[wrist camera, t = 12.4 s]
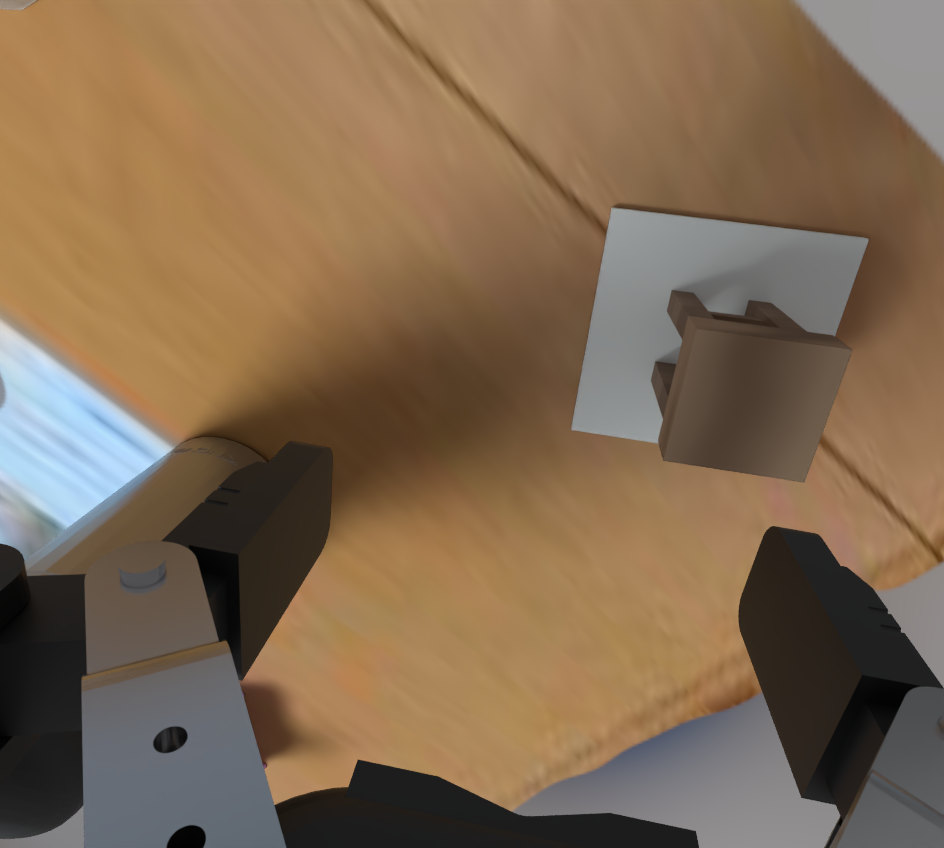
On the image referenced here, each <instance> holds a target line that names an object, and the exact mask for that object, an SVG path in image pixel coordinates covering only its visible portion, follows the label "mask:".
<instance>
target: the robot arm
mask: <svg viewBox="0 0 944 848" xmlns="http://www.w3.org/2000/svg"><path fill="white" fill-rule="evenodd" d="M332 467H333V456H332V451H331V449H330V448H329V447H324V446H318V445H312V444H306V443H301V442H295V441H290V442H288V443H287V444H286V445H285V446H284V447H283V448H282V449H281V450H280V451H279V452H278V453H277V454H276V455H275V456H274V457H273V458H272V459H271V460H270V461H269V462H267V461H266V460H265V459H263V458H262V457H261V456H260V455H258V454H257V453H255V452H254V451H253V450H251V449H250V448H248V447H246V446H244V445H241V444H239V443H237V442H235V441H231V440H227V439H224V438H218V437H201V438H194V439H191V440H189V441H186V442H184V443H181V444H180V445H179V446H177V447H176V448H174V449H173V450H172V451H170V452H169V453H168V454H166V455H165V456H164V457H162V458H161V459H160V460H158V461H157V462H156V463H154V464H153V465H152V466H150V467H149V468H147V469H146V470H145V471H143V472H142V473H141V474H139V475H138V476H136V477H135V478H134V479H132V480H131V481H130V482H128V483H127V484H126V485H124V486H123V487H122V488H120V489H119V490H118V491H116V492H115V493H114V494H112V495H111V496H110V497H108V498H107V499H106V500H104V501H103V502H102V503H100V504H99V505H98V506H96V507H95V508H94V509H92V510H91V511H90V512H88V513H87V514H86V515H84V516H83V517H82V518H80V519H79V520H78V521H76V522H75V523H74V524H72V525H71V526H70V527H68V528H67V529H66V530H64V531H63V532H62V533H60V534H59V535H58V536H56V537H55V538H54V539H52V540H51V541H50V542H48V543H47V544H46V545H44V546H43V547H42V548H40V549H39V550H38V551H36V552H35V553H34V554H32V555H31V556H30V557H28V558H27V559H26V560H24V558H23V556H22V554H21V553H20V552H19V551H18V550H17V549H15V548H13V547H11V546H8V545H4V544H0V839H14V838H25V837H31V836H35V835H39V834H42V833H45V832H48V831H50V830H52V829H54V828H56V827H58V826H60V825H62V824H63V823H64V822H66V821H67V820H68V819H69V818H71V816H73V815H74V814H75V813H76V812H77V811H78V810H79V809H80V808H81V807H82V806H84V848H699V845H698V840H697V835H696V831H692V830H688V829H683V828H678V827H673V826H668V825H664V824H659V823H655V822H650V821H645V820H640V819H636V818H631V817H626V816H622V815H617V814H612V813H601V814H579V815H555V816H522V815H518V814H516V813H513V812H511V811H509V810H507V809H505V808H503V807H500V806H498V805H496V804H494V803H492V802H490V801H488V800H486V799H484V798H482V797H480V796H478V795H476V794H473V793H471V792H469V791H467V790H465V789H463V788H461V787H459V786H457V785H455V784H453V783H451V782H448V781H446V780H444V779H442V778H440V777H438V776H433V775H428V774H423V773H419V772H414V771H409V770H405V769H400V768H395V767H390V766H386V765H381V764H376V763H371V762H367V761H362V760H358V761H357V764H356V767H355V770H354V773H353V775H352V778H351V781H350V784H349V787H342V788H331V789H325V790H319V791H314V792H310V793H307V794H303V795H300V796H296V797H293V798H290V799H288V800H286V801H283V802H281V803H278V804H276V805H274V802H273V799H272V795H271V792H270V788H269V785H268V781H267V778H266V774H265V771H264V767H263V764H262V760H261V757H260V753H259V750H258V746H257V742H256V739H255V735H254V732H253V728H252V725H251V721H250V718H249V714H248V711H247V707H246V704H245V700H244V697H243V693H242V690H241V686H240V683H239V680H241V681H242V680H243V679H244V677H245V676H246V674H247V672H248V671H249V669H250V667H251V666H252V664H253V663H254V661H255V659H256V658H257V656H258V654H259V653H260V651H261V650H262V648H263V646H264V645H265V643H266V641H267V640H268V638H269V637H270V635H271V633H272V632H273V630H274V628H275V627H276V625H277V624H278V622H279V620H280V619H281V617H282V615H283V614H284V612H285V611H286V609H287V607H288V606H289V604H290V602H291V601H292V599H293V598H294V596H295V594H296V593H297V591H298V589H299V588H300V586H301V585H302V583H303V581H304V580H305V578H306V576H307V575H308V573H309V572H310V570H311V568H312V567H313V565H314V563H315V562H316V560H317V559H318V557H319V555H320V554H321V552H322V550H323V548H324V545H325V543H326V540H327V536H328V532H329V527H330V517H331V492H332ZM738 617H739V628H740V632H741V635H742V637H743V640H744V643H745V646H746V648H747V651H748V654H749V656H750V659H751V662H752V665H753V667H754V670H755V673H756V675H757V678H758V681H759V684H760V686H761V689H762V692H763V694H764V697H765V700H766V703H767V705H768V708H769V711H770V713H771V716H772V719H773V722H774V724H775V727H776V730H777V732H778V735H779V738H780V741H781V743H782V746H783V748H784V751H785V754H786V757H787V760H788V762H789V765H790V768H791V771H792V773H793V776H794V778H795V781H796V784H797V787H798V789H799V792H800V795H801V798H805V799H810V800H815V801H820V802H825V803H829V804H835V805H836V806H837V809H838V811H839V813H840V818H839V819H838V821H837V823H836V825H835V827H834V829H833V830H832V832H831V834H830V836H829V839H828V841H827V843H826V845H825V847H824V848H944V688H943V687H942V685H941V684H940V682H939V681H938V680H937V678H936V677H935V675H934V674H933V673H932V671H931V670H930V668H929V667H928V666H927V664H926V663H925V661H924V660H923V658H922V657H921V656H920V654H919V653H918V651H917V650H916V649H915V647H914V646H913V644H912V643H911V642H910V640H909V639H908V637H907V636H906V635H905V633H901V628H900V626H899V625H898V623H897V622H896V621H895V619H894V618H893V616H892V615H891V614H888V609H887V608H886V606H885V605H884V604H883V602H882V601H881V599H880V598H879V597H878V595H877V594H876V592H875V591H874V590H873V588H872V587H870V586H869V585H868V584H867V583H866V582H864V581H863V580H862V579H861V578H859V577H858V576H857V575H856V574H855V573H853V572H852V571H851V570H850V569H848V568H847V567H843V566H840V564H839V563H838V561H837V560H836V559H835V557H834V556H833V554H832V553H831V551H830V550H829V548H828V547H827V545H826V544H825V542H824V541H823V539H822V538H821V537H820V536H819V535H818V534H815V533H810V532H804V531H799V530H793V529H787V528H781V527H776V526H772V527H770V528H769V529H768V530H767V531H766V532H765V534H764V536H763V539H762V541H761V544H760V547H759V549H758V552H757V555H756V557H755V560H754V563H753V566H752V568H751V571H750V574H749V576H748V579H747V582H746V585H745V587H744V590H743V593H742V596H741V599H740V604H739V616H738Z"/></svg>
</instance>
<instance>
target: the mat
mask: <svg viewBox="0 0 944 848" xmlns="http://www.w3.org/2000/svg"><path fill="white" fill-rule="evenodd" d="M868 241H869V239H867V238H864V237H856V236H848V235H840V234H832V233H823V232H815V231H807V230H798V229H790V228H782V227H773V226H765V225H757V224H748V223H740V222H732V221H723V220H715V219H707V218H698V217H690V216H682V215H673V214H665V213H657V212H648V211H640V210H632V209H623V208H615V207H611V213H610V218H609V224H608V229H607V235H606V240H605V245H604V251H603V256H602V262H601V267H600V273H599V278H598V284H597V289H596V294H595V300H594V305H593V311H592V316H591V322H590V327H589V333H588V338H587V344H586V349H585V354H584V360H583V365H582V371H581V376H580V382H579V387H578V393H577V398H576V403H575V409H574V414H573V420H572V425H571V430H575V431H581V432H588V433H594V434H601V435H607V436H614V437H620V438H626V439H633V440H639V441H646V442H652V443H658V437H659V433H660V429H661V425H662V421H663V418H662V415H661V412H660V408H659V405H658V402H657V399H656V396H655V392H654V389H653V386H652V383H651V377H652V373H653V369H654V364H655V361H657V362H665V363H672V364H677V360H678V356H679V352H680V348H681V344H682V338H681V337H680V335H679V333H678V331H677V329H676V327H675V326H674V324H673V322H672V320H671V318H670V316H669V315H668V313H667V308H668V304H669V299H670V295H671V291H672V290H676V291H684V292H691V293H694V294H695V295H696V296H697V297H698V299H699V300H700V301H701V302H702V304H703V305H704V306H705V308H706V309H707V310H708V311H711V312H719V313H727V314H734V315H742V316H744V315H745V312H746V308H747V305H748V301H749V300H753V301H761V302H769V303H772V304H774V305H775V306H776V307H777V308H779V309H780V310H781V311H782V312H783V313H785V314H786V315H787V316H788V317H790V318H791V319H792V320H793V321H795V322H796V323H797V324H798V325H800V326H801V327H802V328H803V329H805V330H806V331H807V332H813V333H821V334H828V335H833V336H834V337H835V335H836V332H837V329H838V326H839V323H840V320H841V318H842V315H843V312H844V309H845V306H846V303H847V300H848V298H849V295H850V292H851V289H852V286H853V283H854V280H855V278H856V275H857V272H858V269H859V266H860V263H861V261H862V258H863V255H864V252H865V249H866V246H867V243H868Z"/></svg>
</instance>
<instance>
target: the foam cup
mask: <svg viewBox="0 0 944 848" xmlns="http://www.w3.org/2000/svg"><path fill="white" fill-rule="evenodd" d="M36 1H37V0H0V9H4V10H23V9H25V8H26V7H28V6H29V5H31V4H32V3H34V2H36Z"/></svg>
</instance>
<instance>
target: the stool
mask: <svg viewBox="0 0 944 848" xmlns="http://www.w3.org/2000/svg"><path fill="white" fill-rule="evenodd" d="M667 313H668V315H669V316H670V318H671V320H672V322H673V324H674V326H675V327H676V329H677V331H678V333H679V335H680V337H681V338H682V344H681V348H680V352H679V356H678V360H677V364H672V363H665V362H657V361H655V364H654V369H653V373H652V377H651V383H652V386H653V389H654V392H655V396H656V399H657V402H658V405H659V408H660V412H661V415H662V418H663V421H662V425H661V429H660V433H659V437H658V443H659V446H660V450H661V454H662V457H663V461H669V462H675V463H682V464H688V465H694V466H701V467H707V468H714V469H720V470H727V471H733V472H740V473H746V474H753V475H759V476H765V477H772V478H778V479H785V480H791V481H798V482H805V479H806V476H807V474H808V471H809V468H810V465H811V463H812V460H813V457H814V455H815V452H816V449H817V446H818V444H819V441H820V438H821V435H822V433H823V430H824V427H825V424H826V422H827V419H828V416H829V413H830V411H831V408H832V405H833V402H834V400H835V397H836V394H837V391H838V389H839V386H840V383H841V380H842V378H843V375H844V372H845V369H846V367H847V364H848V361H849V358H850V356H851V353H852V349H851V348H849V347H848V346H847V345H845V344H844V343H843V342H841V341H840V340H839V339H837V338H836V337H834V336H833V335H828V334H821V333H813V332H807V331H806V330H805V329H803V328H802V327H801V326H800V325H798V324H797V323H796V322H795V321H793V320H792V319H791V318H790V317H788V316H787V315H786V314H785V313H783V312H782V311H781V310H780V309H779V308H777V307H776V306H775V305H774V304H772V303H769V302H761V301H753V300H749V301H748V305H747V308H746V312H745V315H744V316H742V315H734V314H727V313H719V312H711V311H708V310H707V309H706V308H705V306H704V305H703V304H702V302H701V301H700V300H699V299H698V297H697V296H696V295H695V294H694V293H691V292H684V291H676V290H672V291H671V295H670V299H669V304H668V308H667Z"/></svg>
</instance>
